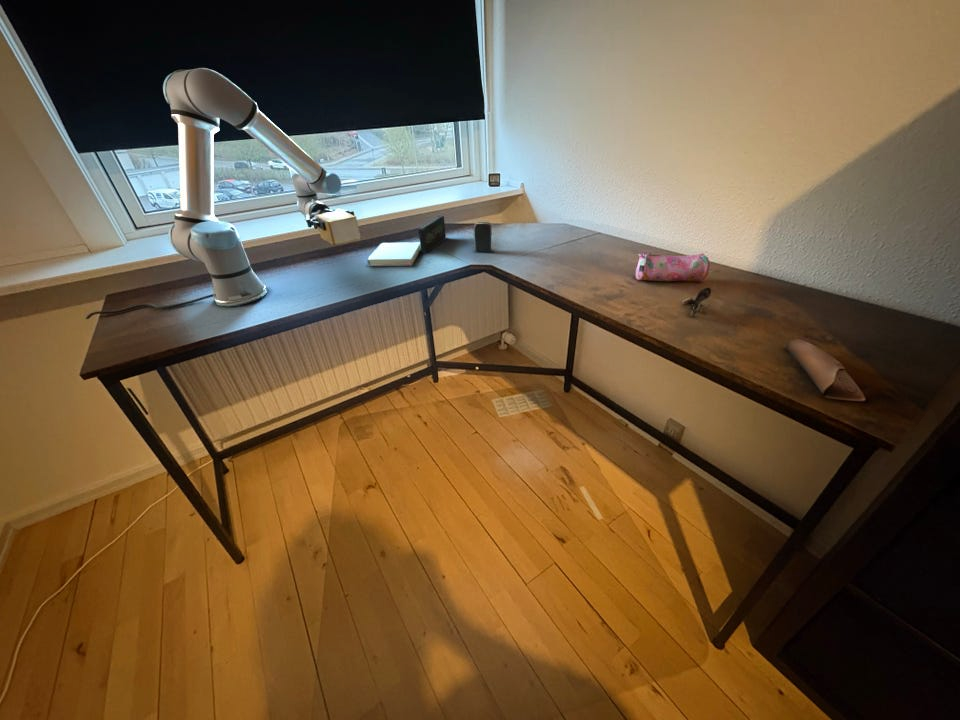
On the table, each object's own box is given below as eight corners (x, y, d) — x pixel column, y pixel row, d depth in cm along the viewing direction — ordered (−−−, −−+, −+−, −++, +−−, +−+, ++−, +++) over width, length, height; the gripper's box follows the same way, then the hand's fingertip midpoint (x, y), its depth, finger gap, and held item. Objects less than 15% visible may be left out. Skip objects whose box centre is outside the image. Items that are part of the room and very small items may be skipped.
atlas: (368, 266, 146) (367, 259, 144) (382, 248, 162) (381, 242, 161) (411, 265, 145) (410, 259, 143) (421, 248, 161) (420, 242, 160)
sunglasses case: (871, 401, 74) (867, 376, 71) (826, 410, 77) (821, 387, 75) (824, 351, 88) (819, 329, 86) (788, 361, 92) (782, 340, 89)
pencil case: (636, 284, 124) (641, 257, 119) (631, 274, 131) (636, 248, 126) (705, 286, 121) (715, 259, 116) (697, 275, 128) (705, 249, 123)
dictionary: (321, 237, 138) (314, 215, 134) (347, 232, 143) (342, 210, 139) (333, 246, 130) (327, 222, 125) (361, 239, 135) (356, 216, 130)
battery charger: (492, 249, 157) (492, 221, 151) (491, 252, 154) (491, 223, 148) (476, 249, 158) (474, 221, 152) (474, 252, 155) (473, 223, 149)
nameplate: (442, 237, 172) (440, 215, 167) (445, 238, 172) (443, 215, 166) (421, 253, 156) (418, 228, 151) (425, 253, 156) (422, 228, 150)
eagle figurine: (715, 316, 102) (716, 297, 108) (706, 296, 100) (707, 278, 105) (685, 324, 108) (687, 305, 113) (675, 305, 105) (678, 287, 110)
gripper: (284, 207, 138) (303, 218, 124) (344, 197, 149) (367, 206, 135) (291, 227, 143) (309, 241, 128) (348, 216, 154) (371, 227, 139)
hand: (339, 223), depth 131 cm, fingers closed on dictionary, 10 cm apart
